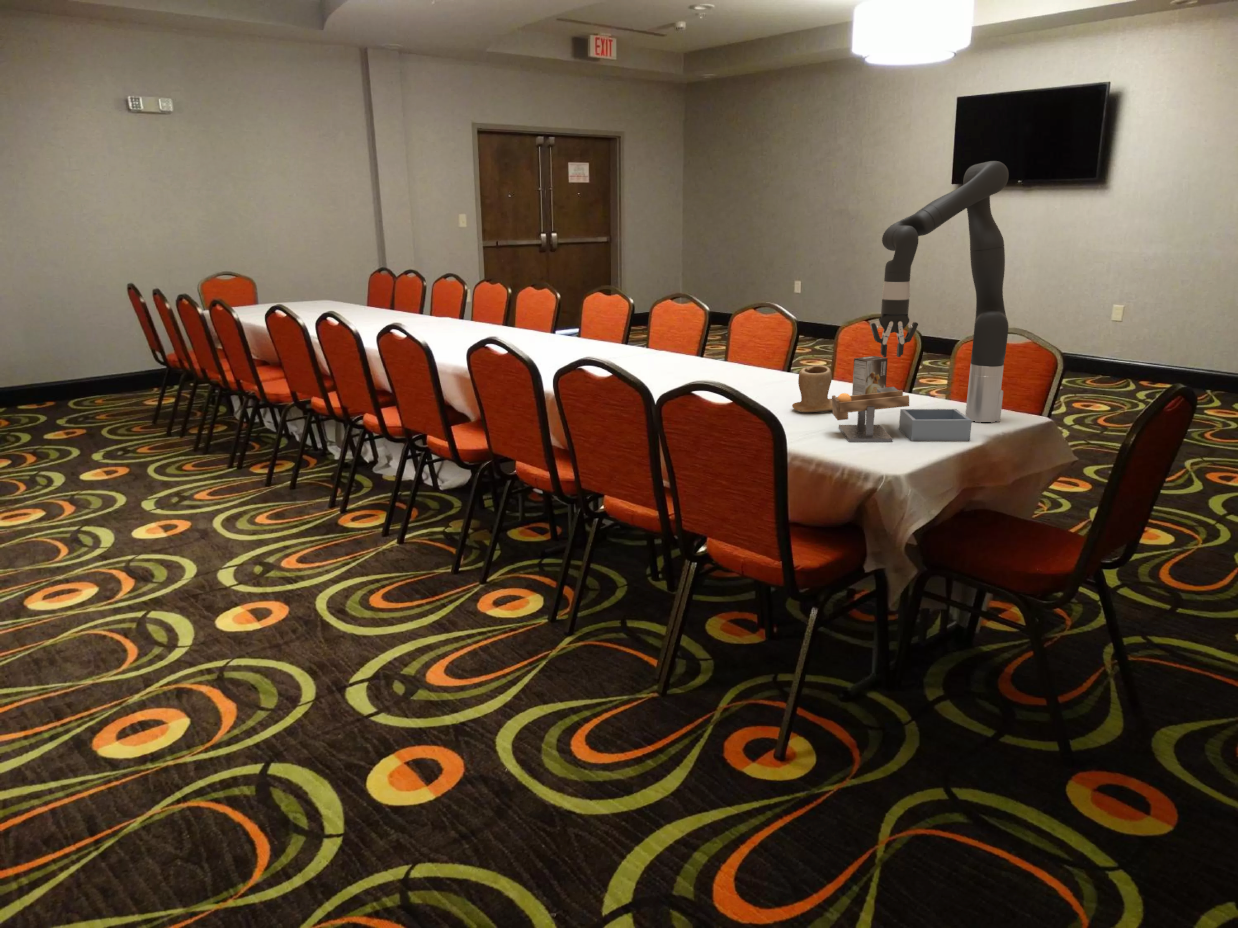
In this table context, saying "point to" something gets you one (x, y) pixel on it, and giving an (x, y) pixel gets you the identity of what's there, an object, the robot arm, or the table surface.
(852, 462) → the table surface
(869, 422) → the stand
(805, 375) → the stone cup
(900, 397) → the chute
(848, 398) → the ball
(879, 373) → the coffee box
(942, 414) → the bin
